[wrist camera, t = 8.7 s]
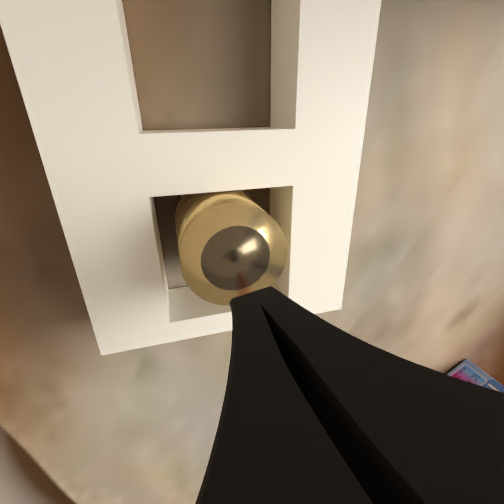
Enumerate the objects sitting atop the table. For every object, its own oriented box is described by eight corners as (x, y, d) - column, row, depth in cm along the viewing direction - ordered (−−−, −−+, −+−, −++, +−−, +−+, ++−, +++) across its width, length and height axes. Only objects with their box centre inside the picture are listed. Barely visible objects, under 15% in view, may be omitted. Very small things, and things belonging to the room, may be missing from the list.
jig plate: (344, -61, 12) (396, -111, 9) (315, 281, 19) (341, 308, 16) (-2, -108, 9) (-69, -201, 6) (111, 316, 16) (101, 355, 13)
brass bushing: (235, 166, 14) (267, 187, 10) (262, 234, 16) (299, 277, 12) (159, 200, 14) (158, 238, 10) (196, 266, 16) (210, 322, 12)
